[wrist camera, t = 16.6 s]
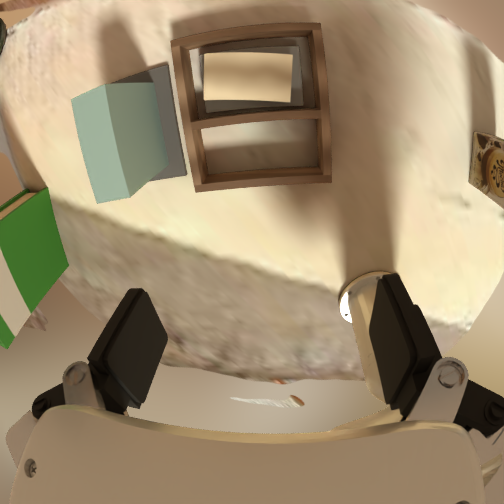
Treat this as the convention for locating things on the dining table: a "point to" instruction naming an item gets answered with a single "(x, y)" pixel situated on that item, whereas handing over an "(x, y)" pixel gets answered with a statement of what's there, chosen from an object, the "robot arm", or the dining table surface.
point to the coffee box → (488, 166)
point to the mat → (164, 118)
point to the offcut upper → (247, 76)
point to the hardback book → (27, 258)
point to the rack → (194, 124)
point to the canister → (2, 34)
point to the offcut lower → (243, 104)
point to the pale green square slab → (120, 138)
